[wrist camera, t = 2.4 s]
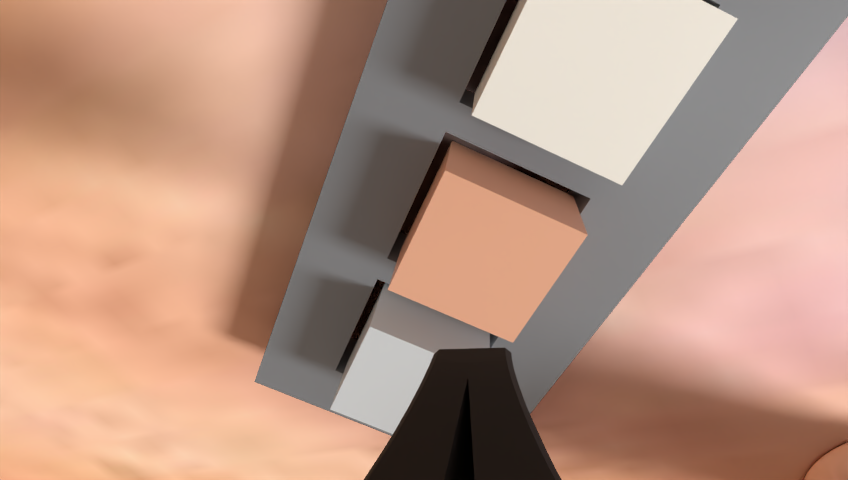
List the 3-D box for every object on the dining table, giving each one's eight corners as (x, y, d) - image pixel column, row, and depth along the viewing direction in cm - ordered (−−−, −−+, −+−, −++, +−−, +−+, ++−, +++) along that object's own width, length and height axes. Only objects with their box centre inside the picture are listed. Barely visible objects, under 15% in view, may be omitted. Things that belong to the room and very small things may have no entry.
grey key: (490, 325, 17) (489, 376, 15) (443, 397, 19) (437, 451, 17) (385, 281, 17) (370, 326, 15) (348, 359, 19) (329, 409, 17)
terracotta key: (573, 196, 15) (587, 234, 13) (510, 294, 17) (512, 342, 14) (451, 140, 14) (445, 170, 12) (401, 247, 16) (387, 289, 14)
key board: (837, -40, 12) (894, -43, 11) (484, 432, 22) (483, 471, 20) (483, -232, 12) (481, -269, 10) (273, 348, 21) (254, 381, 19)
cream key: (693, 11, 12) (737, 19, 10) (601, 152, 14) (622, 185, 12) (548, -64, 12) (562, -72, 10) (474, 93, 14) (471, 115, 11)
